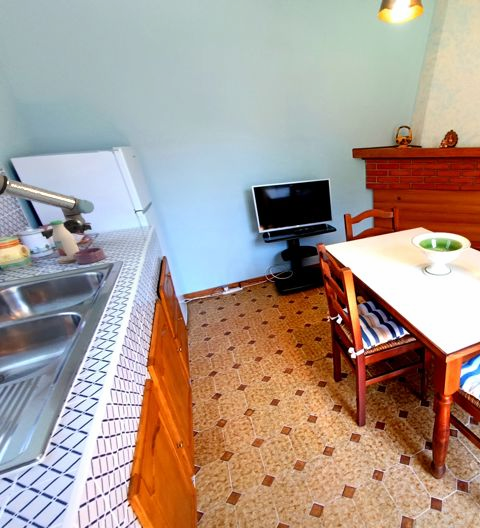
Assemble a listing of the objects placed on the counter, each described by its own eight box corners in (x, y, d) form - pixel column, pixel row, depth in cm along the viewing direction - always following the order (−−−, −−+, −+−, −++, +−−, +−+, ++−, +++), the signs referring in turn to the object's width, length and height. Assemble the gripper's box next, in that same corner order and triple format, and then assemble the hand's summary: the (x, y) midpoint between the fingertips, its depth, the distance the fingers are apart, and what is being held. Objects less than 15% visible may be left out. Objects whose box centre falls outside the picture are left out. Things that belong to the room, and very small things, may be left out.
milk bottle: (81, 255, 160) (66, 218, 152) (82, 258, 155) (66, 220, 147) (62, 259, 155) (45, 221, 148) (62, 262, 150) (44, 224, 142)
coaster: (62, 265, 148) (61, 264, 148) (55, 261, 154) (55, 260, 154) (89, 258, 156) (88, 257, 156) (82, 255, 162) (81, 254, 162)
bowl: (81, 266, 145) (77, 256, 143) (73, 262, 152) (69, 253, 150) (109, 258, 154) (105, 249, 152) (101, 255, 160) (97, 246, 158)
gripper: (102, 228, 178) (96, 235, 161) (46, 236, 166) (34, 245, 149) (97, 215, 175) (91, 222, 158) (40, 223, 163) (27, 231, 146)
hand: (63, 233), depth 153 cm, fingers open, 13 cm apart
